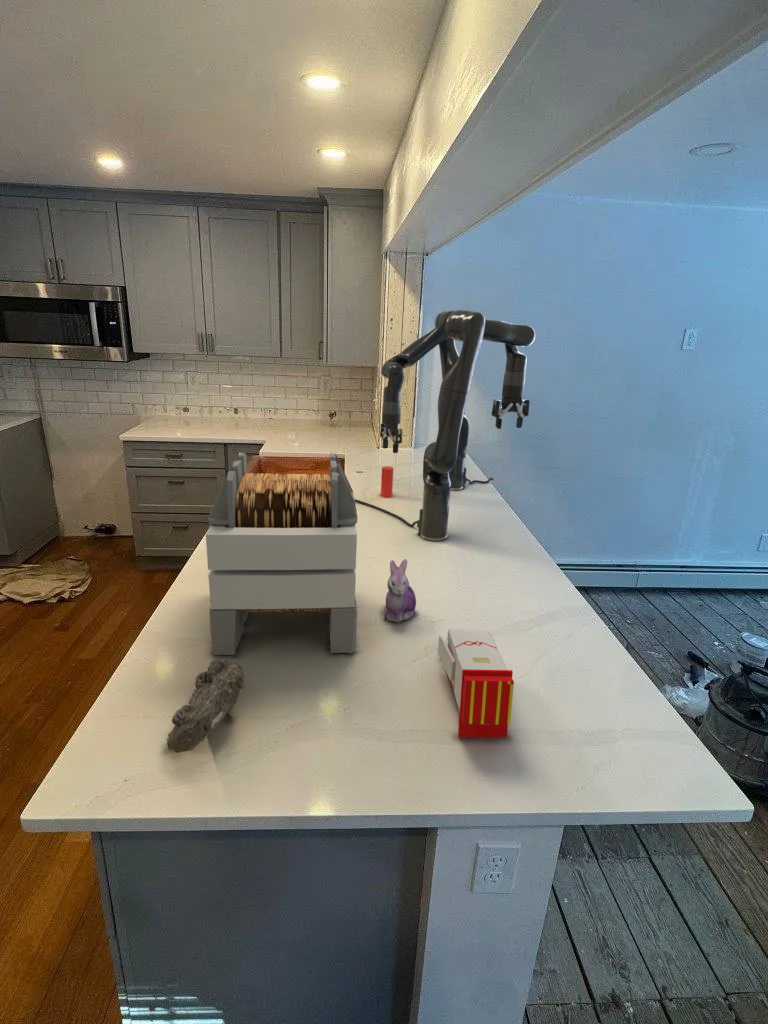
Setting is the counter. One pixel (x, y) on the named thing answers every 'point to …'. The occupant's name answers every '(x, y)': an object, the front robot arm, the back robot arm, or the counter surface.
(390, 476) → the canister
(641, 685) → the counter surface
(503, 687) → the toy
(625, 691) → the counter surface
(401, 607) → the figurine
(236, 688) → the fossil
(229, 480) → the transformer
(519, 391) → the front robot arm
